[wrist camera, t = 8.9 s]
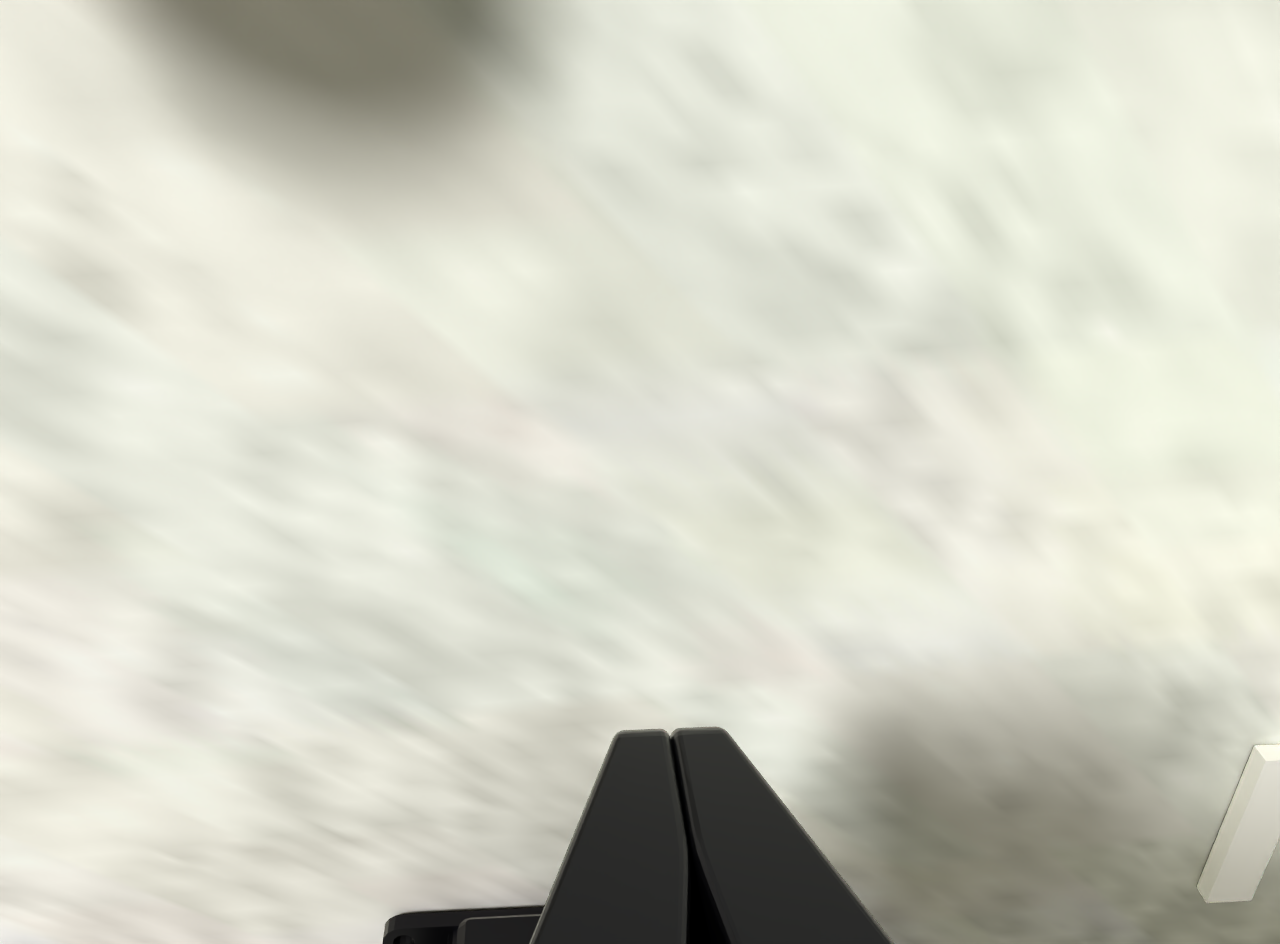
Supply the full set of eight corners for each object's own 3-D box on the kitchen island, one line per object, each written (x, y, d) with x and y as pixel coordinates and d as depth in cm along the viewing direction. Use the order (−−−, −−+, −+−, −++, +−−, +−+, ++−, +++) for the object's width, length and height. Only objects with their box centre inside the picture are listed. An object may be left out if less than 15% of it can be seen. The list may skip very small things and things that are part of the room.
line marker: (1241, 884, 29) (1251, 900, 29) (1196, 886, 29) (1205, 903, 29) (1302, 743, 27) (1314, 758, 26) (1254, 745, 27) (1265, 761, 26)
